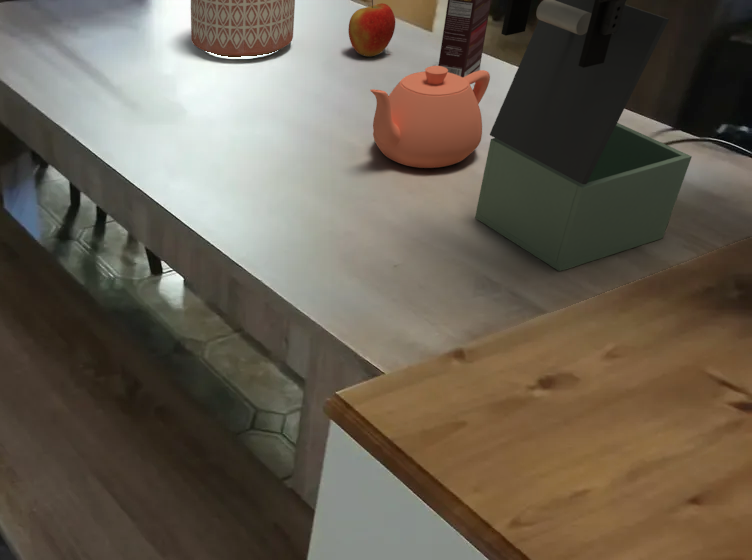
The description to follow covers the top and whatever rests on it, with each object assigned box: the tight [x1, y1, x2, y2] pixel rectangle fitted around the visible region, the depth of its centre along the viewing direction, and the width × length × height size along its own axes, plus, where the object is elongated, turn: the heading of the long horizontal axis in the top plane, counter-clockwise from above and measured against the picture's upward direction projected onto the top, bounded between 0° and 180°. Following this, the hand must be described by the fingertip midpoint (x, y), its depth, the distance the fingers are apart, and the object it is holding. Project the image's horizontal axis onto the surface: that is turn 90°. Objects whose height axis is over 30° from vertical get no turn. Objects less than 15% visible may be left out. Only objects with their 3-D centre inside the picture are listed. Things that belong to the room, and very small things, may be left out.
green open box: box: [474, 122, 692, 272], centre depth 116 cm, size 17×16×11 cm
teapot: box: [369, 65, 491, 169], centre depth 133 cm, size 22×15×12 cm
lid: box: [489, 0, 670, 184], centre depth 103 cm, size 18×16×7 cm
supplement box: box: [437, 0, 492, 77], centre depth 154 cm, size 9×5×16 cm, turn 144°
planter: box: [190, 0, 296, 57], centre depth 171 cm, size 19×19×15 cm
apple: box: [348, 0, 396, 57], centre depth 166 cm, size 8×8×10 cm
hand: (550, 48), depth 100 cm, fingers open, 11 cm apart
